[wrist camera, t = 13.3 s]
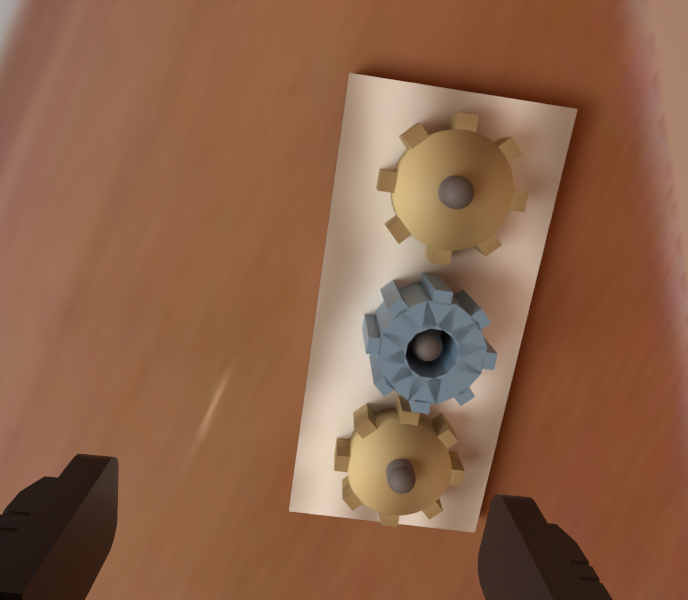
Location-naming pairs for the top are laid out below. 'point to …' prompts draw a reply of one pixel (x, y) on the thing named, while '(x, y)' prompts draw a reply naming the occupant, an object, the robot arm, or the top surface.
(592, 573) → the robot arm
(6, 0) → the top surface
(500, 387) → the gear board
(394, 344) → the loose gear
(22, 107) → the top surface
